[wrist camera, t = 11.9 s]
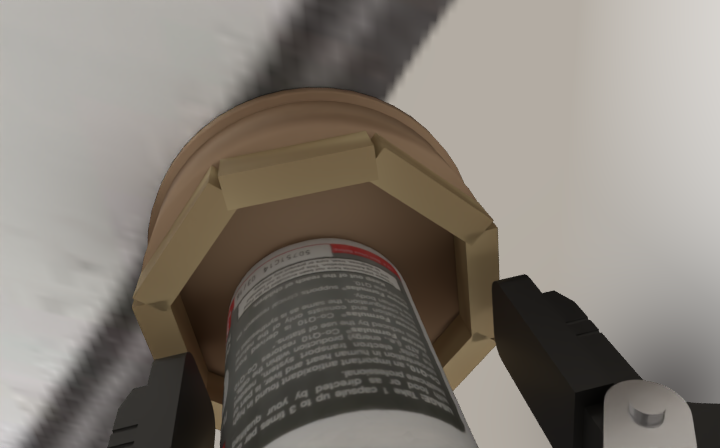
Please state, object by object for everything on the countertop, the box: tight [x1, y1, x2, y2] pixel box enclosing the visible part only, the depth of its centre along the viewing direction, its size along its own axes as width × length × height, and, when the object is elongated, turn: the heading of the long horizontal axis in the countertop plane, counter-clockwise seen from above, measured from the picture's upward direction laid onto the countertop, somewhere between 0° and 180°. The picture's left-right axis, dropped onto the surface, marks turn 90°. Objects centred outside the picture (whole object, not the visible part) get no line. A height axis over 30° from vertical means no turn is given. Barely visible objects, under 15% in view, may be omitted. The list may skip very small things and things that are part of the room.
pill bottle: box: [220, 238, 478, 448], centre depth 11 cm, size 5×5×8 cm
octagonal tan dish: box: [132, 88, 499, 431], centre depth 15 cm, size 10×10×4 cm
